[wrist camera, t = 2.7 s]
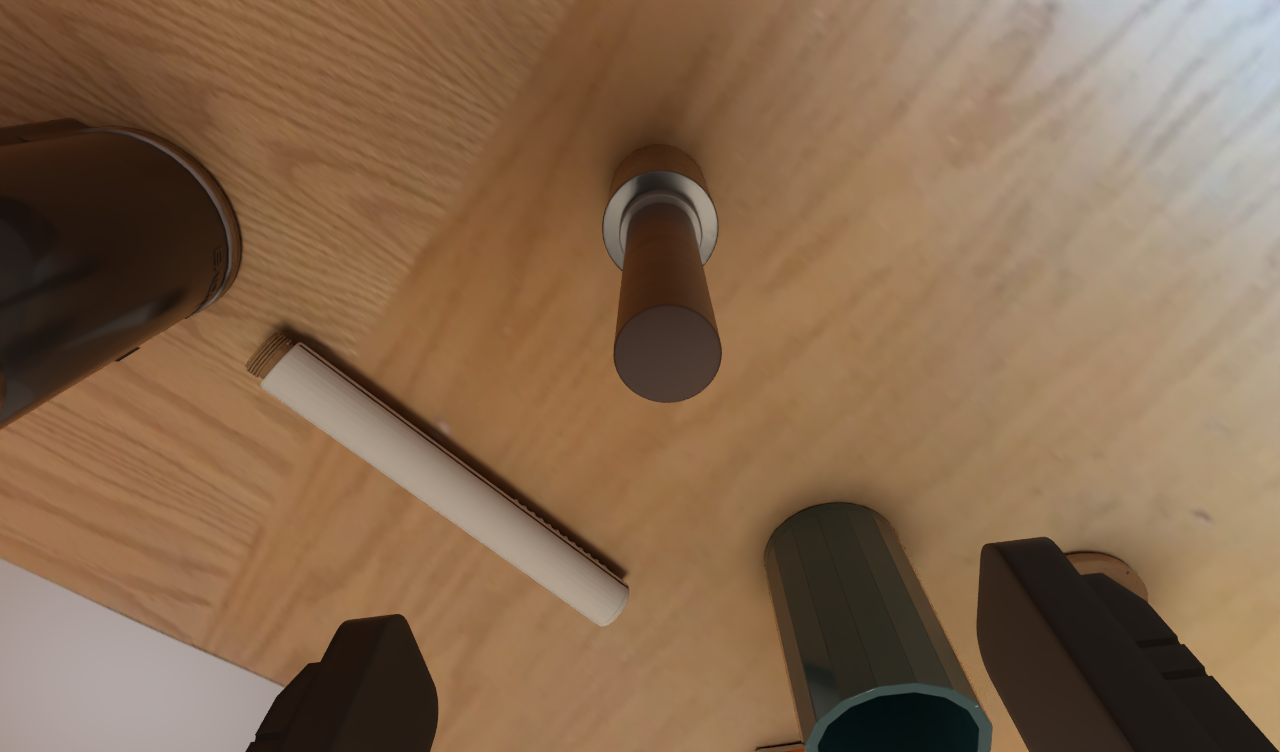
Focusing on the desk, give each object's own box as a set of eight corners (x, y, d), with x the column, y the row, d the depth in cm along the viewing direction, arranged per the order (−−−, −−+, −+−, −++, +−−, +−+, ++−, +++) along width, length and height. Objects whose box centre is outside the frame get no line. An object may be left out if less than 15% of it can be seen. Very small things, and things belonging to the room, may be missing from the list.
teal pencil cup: (736, 568, 44) (768, 761, 32) (825, 479, 41) (896, 656, 29) (835, 626, 46) (899, 826, 34) (927, 544, 43) (1031, 734, 31)
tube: (261, 356, 38) (599, 599, 45) (230, 381, 35) (595, 636, 42) (290, 318, 37) (631, 574, 44) (261, 341, 34) (629, 610, 41)
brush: (592, 205, 34) (535, 376, 17) (646, 123, 32) (644, 222, 15) (668, 257, 35) (687, 468, 18) (724, 182, 33) (804, 334, 16)
